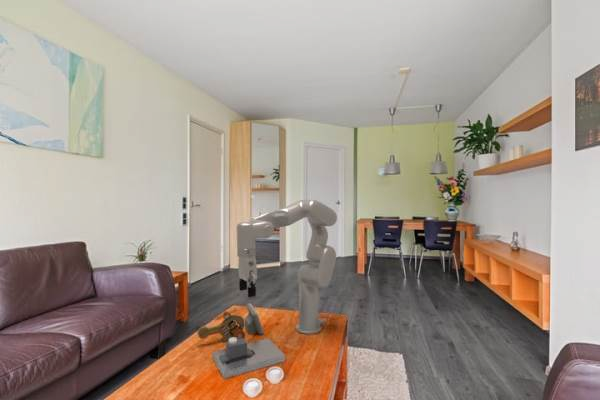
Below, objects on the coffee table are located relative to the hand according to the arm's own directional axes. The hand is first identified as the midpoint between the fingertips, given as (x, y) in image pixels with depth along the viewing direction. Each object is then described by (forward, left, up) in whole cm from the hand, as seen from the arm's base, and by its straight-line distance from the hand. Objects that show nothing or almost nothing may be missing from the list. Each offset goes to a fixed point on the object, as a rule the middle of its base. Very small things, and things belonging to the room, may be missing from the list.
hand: (247, 293), depth 122 cm
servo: (+6, +6, -25) cm, 26 cm away
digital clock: (-11, -20, -25) cm, 34 cm away
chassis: (+1, +6, -25) cm, 25 cm away
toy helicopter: (+5, -15, -25) cm, 29 cm away
